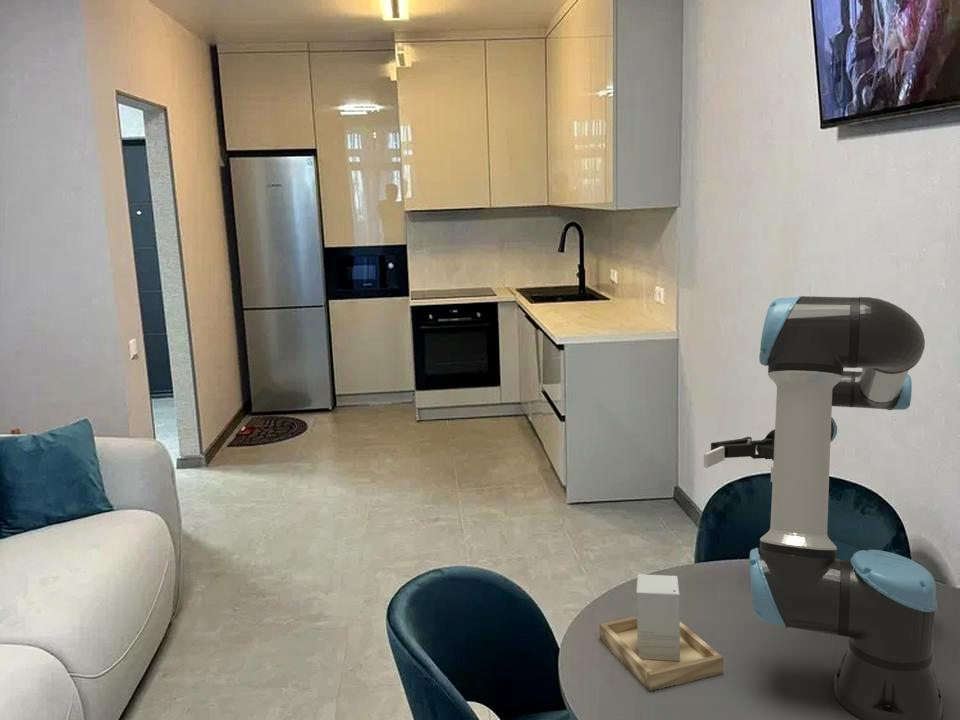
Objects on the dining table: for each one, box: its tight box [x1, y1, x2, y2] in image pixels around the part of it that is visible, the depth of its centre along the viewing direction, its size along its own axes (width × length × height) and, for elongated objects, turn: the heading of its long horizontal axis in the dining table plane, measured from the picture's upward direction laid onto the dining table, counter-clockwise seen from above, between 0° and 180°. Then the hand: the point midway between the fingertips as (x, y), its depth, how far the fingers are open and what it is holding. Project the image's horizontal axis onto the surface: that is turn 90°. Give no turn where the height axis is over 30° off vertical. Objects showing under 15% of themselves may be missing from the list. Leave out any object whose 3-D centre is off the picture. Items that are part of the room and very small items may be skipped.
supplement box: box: [635, 573, 681, 661], centre depth 138 cm, size 7×7×13 cm
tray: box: [599, 615, 724, 692], centre depth 139 cm, size 18×14×3 cm
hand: (737, 467), depth 147 cm, fingers open, 13 cm apart
